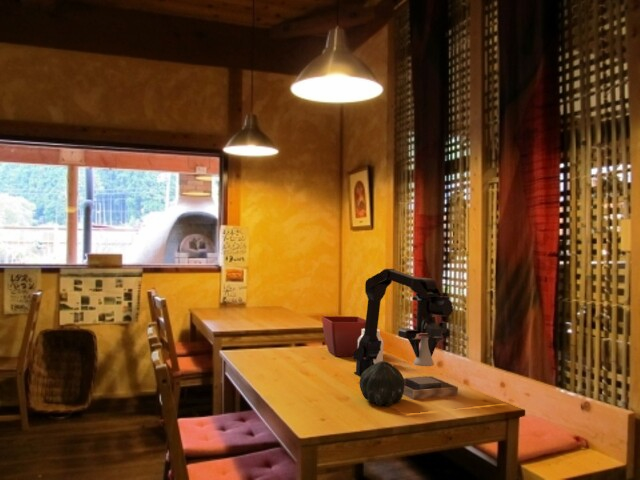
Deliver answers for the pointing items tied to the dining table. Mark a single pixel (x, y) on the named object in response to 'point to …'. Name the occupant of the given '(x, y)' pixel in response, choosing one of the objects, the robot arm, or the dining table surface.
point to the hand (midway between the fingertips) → (424, 356)
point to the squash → (382, 384)
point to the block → (422, 383)
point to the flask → (424, 353)
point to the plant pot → (342, 334)
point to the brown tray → (431, 391)
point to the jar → (380, 356)
